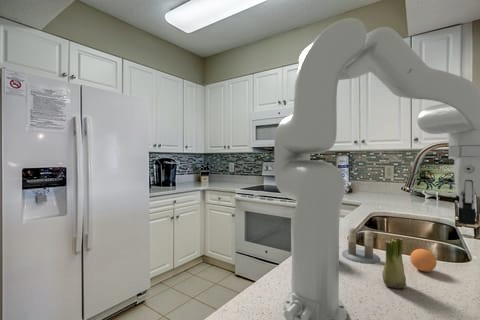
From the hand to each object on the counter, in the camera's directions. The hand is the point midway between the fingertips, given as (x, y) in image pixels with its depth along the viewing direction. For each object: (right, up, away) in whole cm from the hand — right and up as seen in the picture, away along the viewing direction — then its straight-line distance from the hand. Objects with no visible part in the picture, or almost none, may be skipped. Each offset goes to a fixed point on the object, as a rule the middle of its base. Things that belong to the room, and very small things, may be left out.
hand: (466, 223), depth 65 cm
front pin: (-18, -15, +15) cm, 28 cm away
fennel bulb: (-21, -15, -2) cm, 26 cm away
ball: (-7, -12, +6) cm, 15 cm away
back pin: (-22, -15, +18) cm, 32 cm away
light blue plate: (-20, -15, +16) cm, 30 cm away
